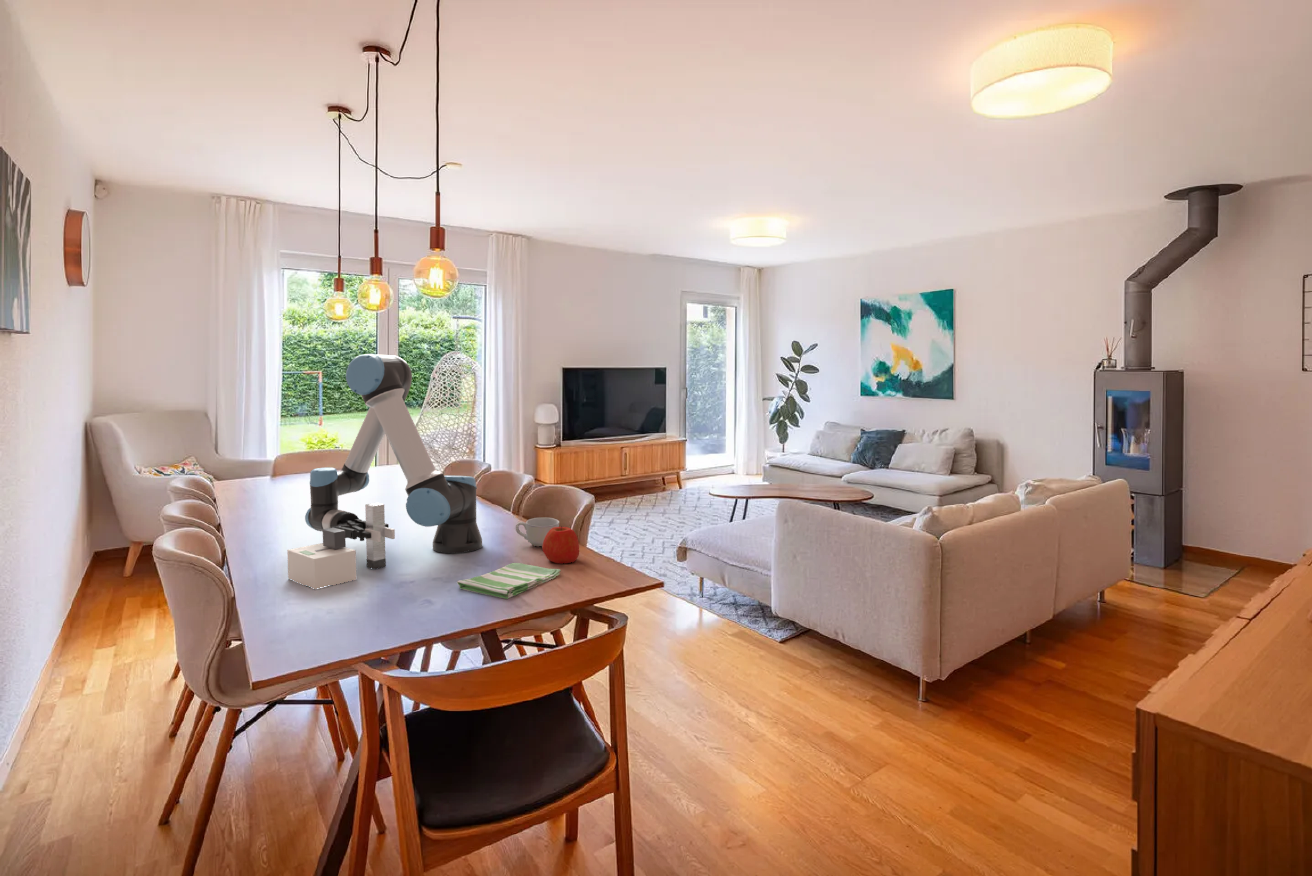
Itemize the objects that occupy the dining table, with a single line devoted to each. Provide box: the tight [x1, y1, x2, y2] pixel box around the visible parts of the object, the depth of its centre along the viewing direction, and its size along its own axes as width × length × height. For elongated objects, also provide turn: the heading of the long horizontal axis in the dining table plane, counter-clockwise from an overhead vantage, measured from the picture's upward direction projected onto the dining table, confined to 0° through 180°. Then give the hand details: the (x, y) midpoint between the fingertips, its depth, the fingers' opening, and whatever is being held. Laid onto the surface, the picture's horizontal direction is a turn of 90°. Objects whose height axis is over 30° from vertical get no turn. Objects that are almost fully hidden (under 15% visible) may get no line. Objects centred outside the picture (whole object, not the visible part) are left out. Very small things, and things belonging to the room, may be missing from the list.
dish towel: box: [456, 562, 562, 600], centre depth 180 cm, size 18×23×3 cm
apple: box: [541, 526, 580, 565], centre depth 200 cm, size 11×11×11 cm
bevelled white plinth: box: [287, 542, 357, 590], centre depth 179 cm, size 11×14×8 cm
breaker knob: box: [322, 527, 347, 549], centre depth 182 cm, size 3×6×4 cm, turn 54°
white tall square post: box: [364, 502, 387, 570], centre depth 191 cm, size 4×4×18 cm
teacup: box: [515, 516, 560, 547], centre depth 219 cm, size 14×11×8 cm
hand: (386, 535), depth 188 cm, fingers closed on white tall square post, 4 cm apart
